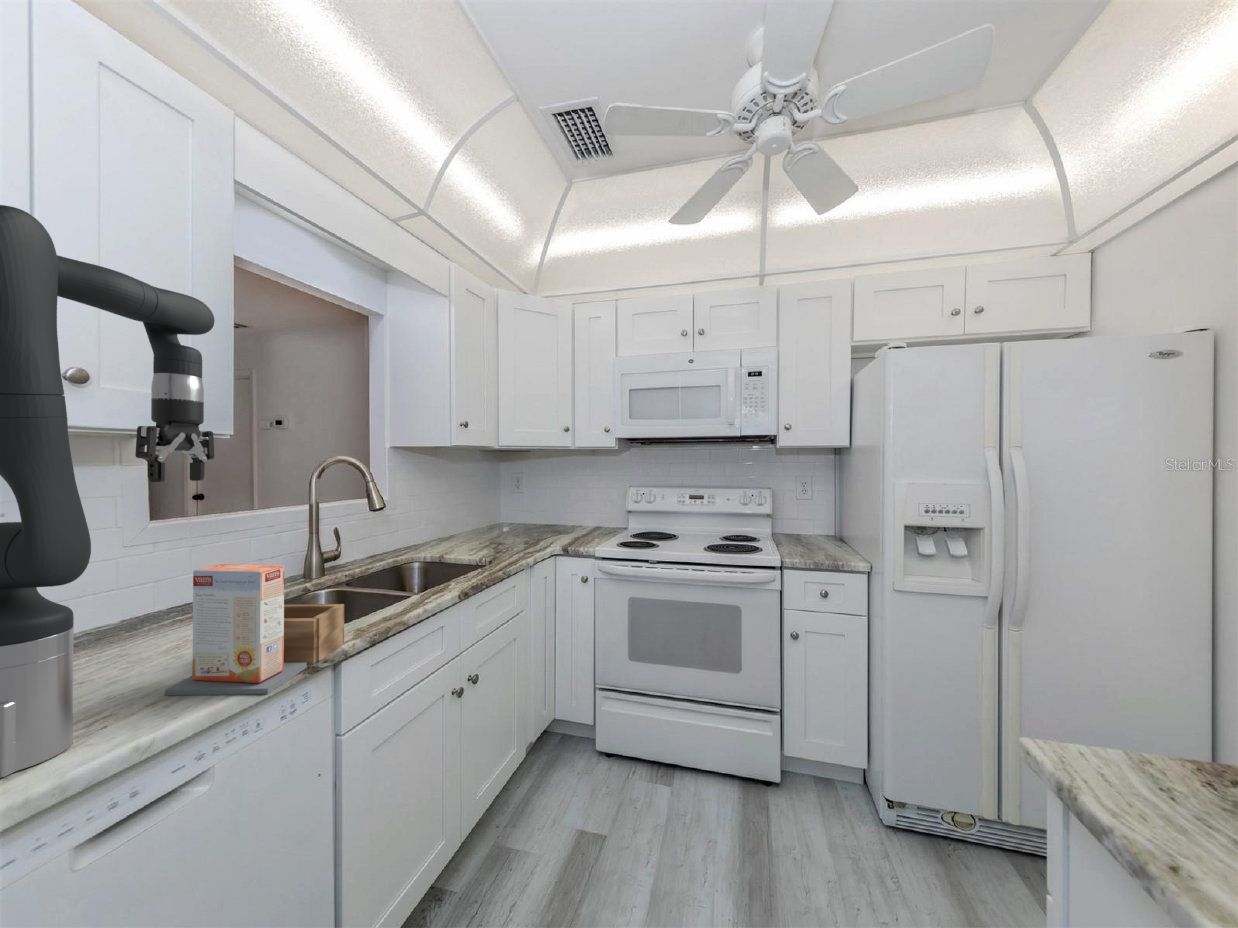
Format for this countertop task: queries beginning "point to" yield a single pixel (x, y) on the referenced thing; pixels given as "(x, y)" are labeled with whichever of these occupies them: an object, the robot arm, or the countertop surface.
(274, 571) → the cracker box
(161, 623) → the countertop surface
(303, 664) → the pad
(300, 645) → the crate
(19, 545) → the robot arm
